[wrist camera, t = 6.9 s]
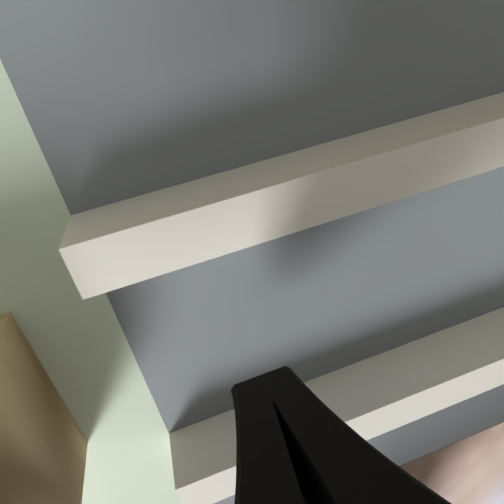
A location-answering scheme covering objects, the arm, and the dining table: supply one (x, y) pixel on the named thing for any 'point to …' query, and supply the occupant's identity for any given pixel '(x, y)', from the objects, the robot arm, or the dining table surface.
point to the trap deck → (253, 221)
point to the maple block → (35, 429)
